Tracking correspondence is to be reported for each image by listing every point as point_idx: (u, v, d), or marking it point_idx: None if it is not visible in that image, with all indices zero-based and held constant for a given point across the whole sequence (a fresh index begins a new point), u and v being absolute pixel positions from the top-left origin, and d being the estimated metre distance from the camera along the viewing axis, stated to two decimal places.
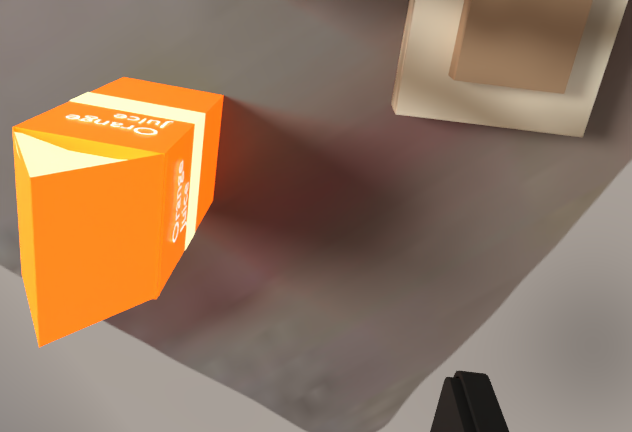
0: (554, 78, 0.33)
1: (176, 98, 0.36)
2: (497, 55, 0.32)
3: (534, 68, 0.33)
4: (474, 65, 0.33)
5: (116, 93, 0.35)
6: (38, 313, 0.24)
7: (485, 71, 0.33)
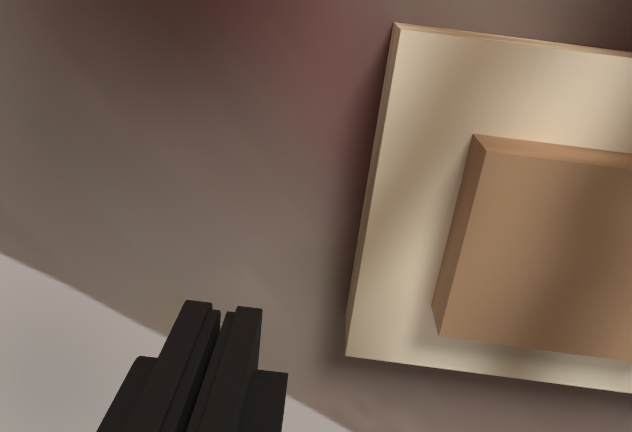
0: (468, 320, 0.19)
1: None
2: (524, 225, 0.17)
3: (490, 288, 0.18)
4: (511, 186, 0.16)
5: None
6: None
7: (497, 208, 0.17)
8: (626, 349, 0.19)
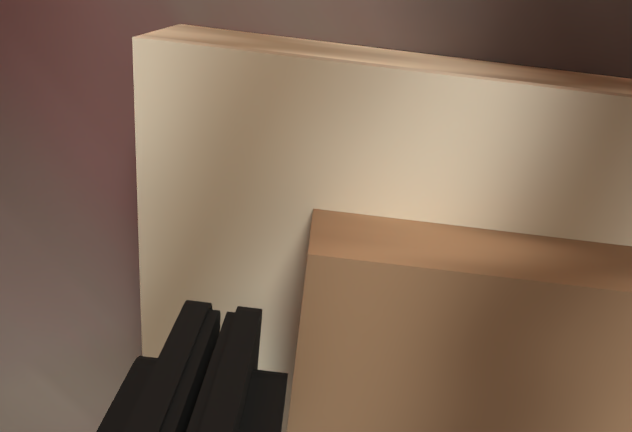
0: None
1: None
2: (387, 368, 0.10)
3: None
4: (358, 310, 0.10)
5: None
6: None
7: (338, 343, 0.10)
8: None
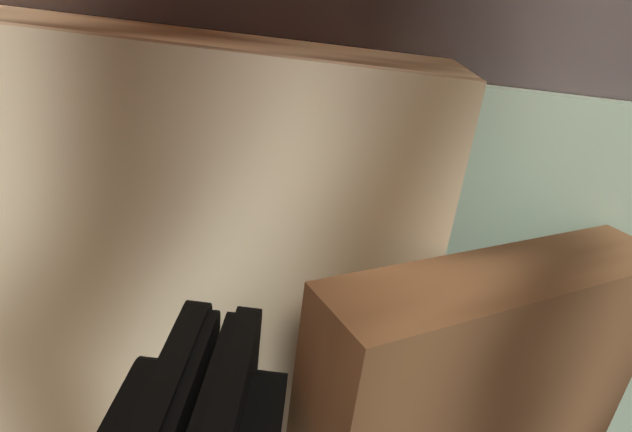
0: None
1: None
2: (427, 425, 0.10)
3: None
4: (407, 384, 0.09)
5: None
6: None
7: (387, 422, 0.09)
8: None
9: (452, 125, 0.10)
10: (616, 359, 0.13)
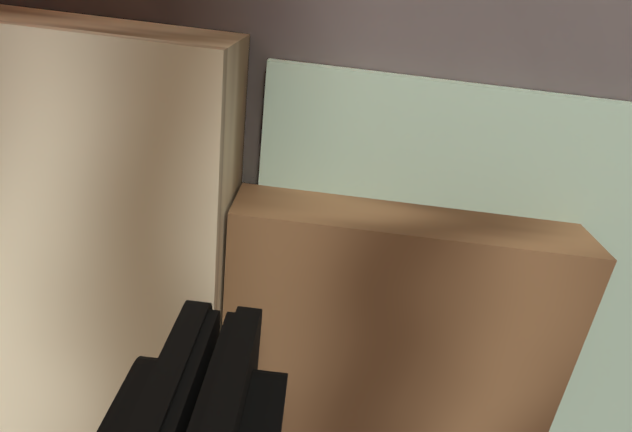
0: None
1: None
2: (295, 306, 0.13)
3: None
4: (269, 258, 0.12)
5: None
6: None
7: (256, 285, 0.13)
8: None
9: (198, 94, 0.10)
10: (534, 343, 0.13)
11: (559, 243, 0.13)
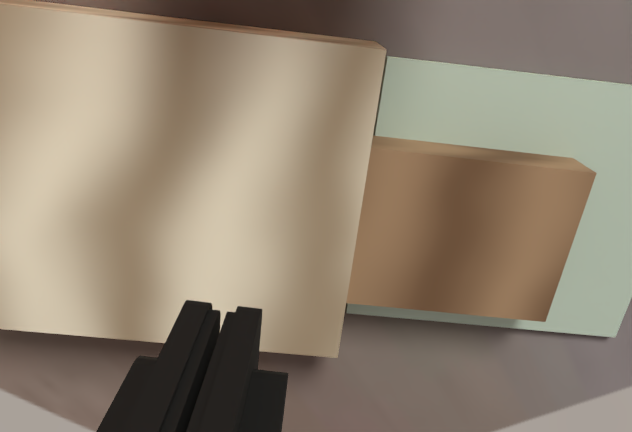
0: (367, 287, 0.23)
1: None
2: (405, 207, 0.21)
3: (383, 259, 0.22)
4: (392, 176, 0.21)
5: None
6: None
7: (382, 194, 0.21)
8: (495, 307, 0.23)
9: (369, 74, 0.18)
10: (548, 228, 0.22)
11: (562, 165, 0.21)
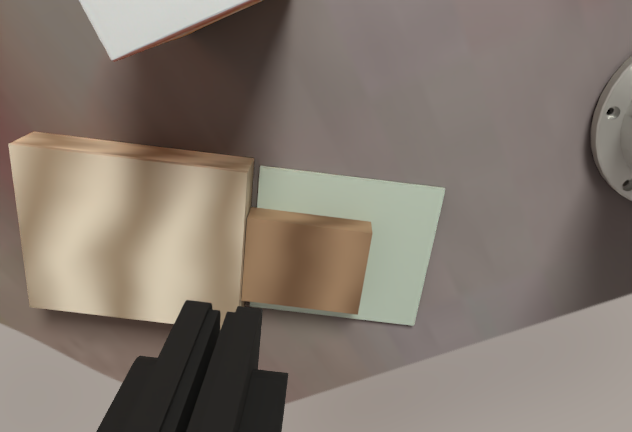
0: (253, 292, 0.40)
1: None
2: (269, 249, 0.38)
3: (260, 277, 0.39)
4: (260, 232, 0.38)
5: None
6: None
7: (256, 241, 0.38)
8: (327, 305, 0.40)
9: (239, 184, 0.36)
10: (350, 262, 0.39)
11: (356, 228, 0.38)
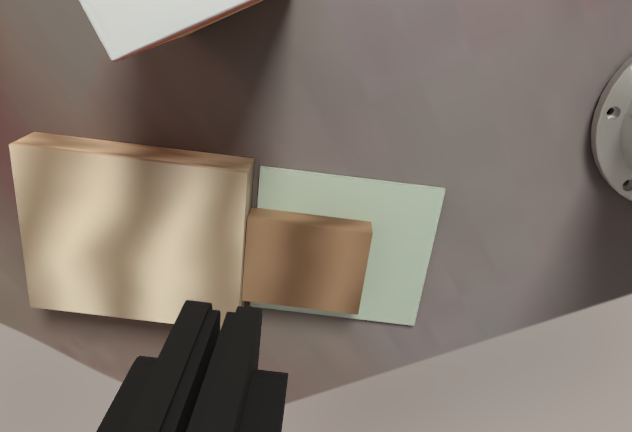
0: (253, 292, 0.40)
1: None
2: (269, 249, 0.38)
3: (260, 277, 0.39)
4: (260, 232, 0.38)
5: None
6: None
7: (256, 241, 0.38)
8: (327, 305, 0.40)
9: (240, 184, 0.36)
10: (350, 262, 0.39)
11: (356, 228, 0.38)
